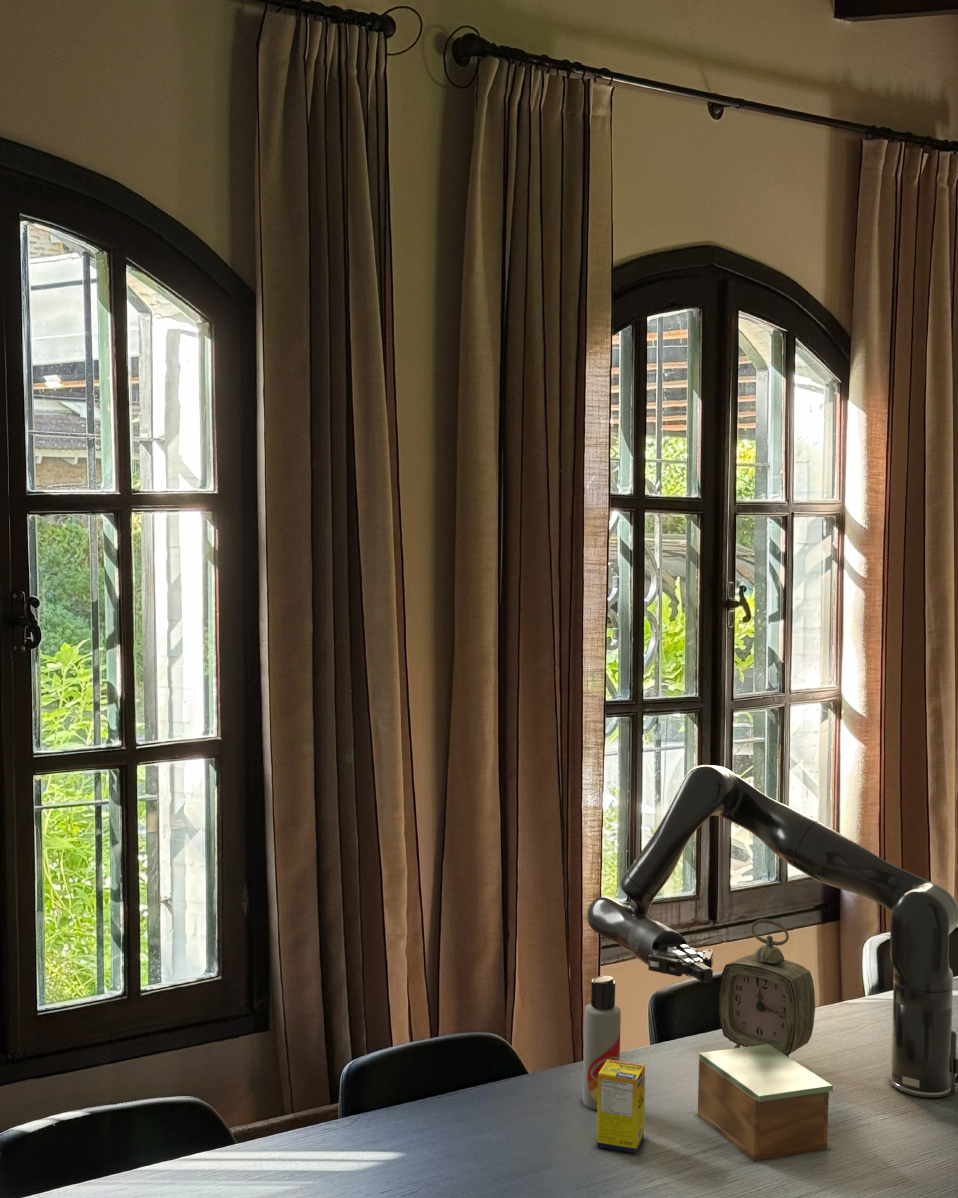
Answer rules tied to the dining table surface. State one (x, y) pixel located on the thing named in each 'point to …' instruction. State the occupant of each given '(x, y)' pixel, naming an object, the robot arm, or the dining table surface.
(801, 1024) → the tabletop clock
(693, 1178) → the dining table surface
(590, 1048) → the lotion bottle
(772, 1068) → the box lid
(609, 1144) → the supplement box
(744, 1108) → the box
